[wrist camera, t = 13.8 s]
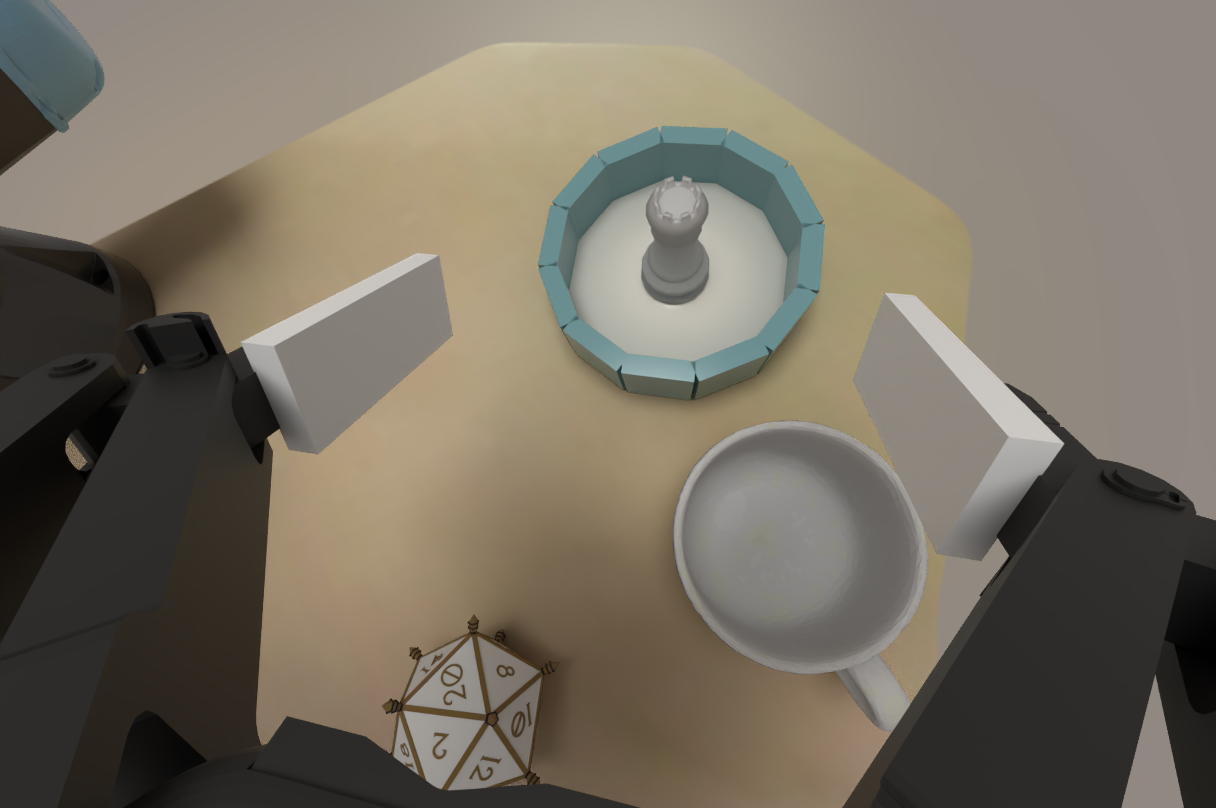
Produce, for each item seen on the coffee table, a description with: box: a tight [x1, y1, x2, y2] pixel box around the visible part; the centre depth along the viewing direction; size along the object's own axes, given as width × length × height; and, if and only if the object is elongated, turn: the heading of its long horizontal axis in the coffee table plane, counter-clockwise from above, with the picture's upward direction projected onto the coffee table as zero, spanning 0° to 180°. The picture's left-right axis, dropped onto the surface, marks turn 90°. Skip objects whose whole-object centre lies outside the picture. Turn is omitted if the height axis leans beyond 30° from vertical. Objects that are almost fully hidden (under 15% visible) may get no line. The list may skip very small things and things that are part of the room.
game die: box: [382, 615, 559, 790], centre depth 24 cm, size 9×8×10 cm
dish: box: [538, 126, 825, 400], centre depth 30 cm, size 16×16×4 cm
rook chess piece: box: [641, 176, 709, 303], centre depth 27 cm, size 4×4×8 cm
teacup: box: [673, 421, 928, 731], centre depth 24 cm, size 14×11×8 cm
